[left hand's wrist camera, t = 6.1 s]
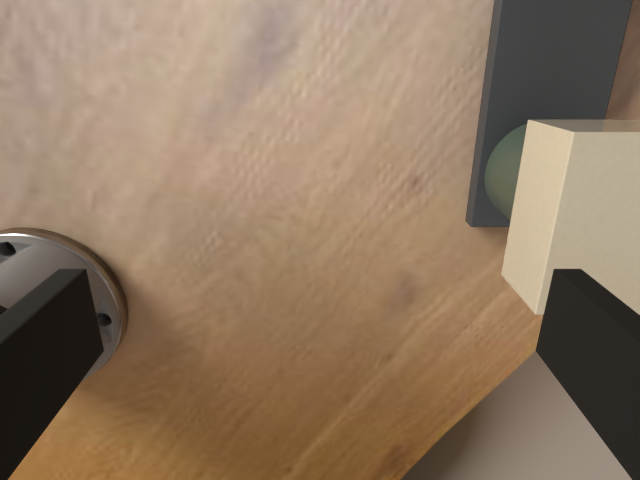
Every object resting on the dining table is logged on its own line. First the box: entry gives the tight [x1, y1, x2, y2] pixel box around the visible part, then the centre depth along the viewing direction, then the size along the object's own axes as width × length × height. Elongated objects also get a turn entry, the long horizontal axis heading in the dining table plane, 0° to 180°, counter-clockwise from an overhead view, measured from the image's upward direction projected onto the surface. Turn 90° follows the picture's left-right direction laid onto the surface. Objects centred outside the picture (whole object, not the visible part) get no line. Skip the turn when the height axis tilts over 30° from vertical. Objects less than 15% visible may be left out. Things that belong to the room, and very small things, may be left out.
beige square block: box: [501, 120, 640, 315], centre depth 25 cm, size 10×10×5 cm
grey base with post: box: [466, 0, 633, 227], centre depth 27 cm, size 29×9×12 cm, turn 0°
